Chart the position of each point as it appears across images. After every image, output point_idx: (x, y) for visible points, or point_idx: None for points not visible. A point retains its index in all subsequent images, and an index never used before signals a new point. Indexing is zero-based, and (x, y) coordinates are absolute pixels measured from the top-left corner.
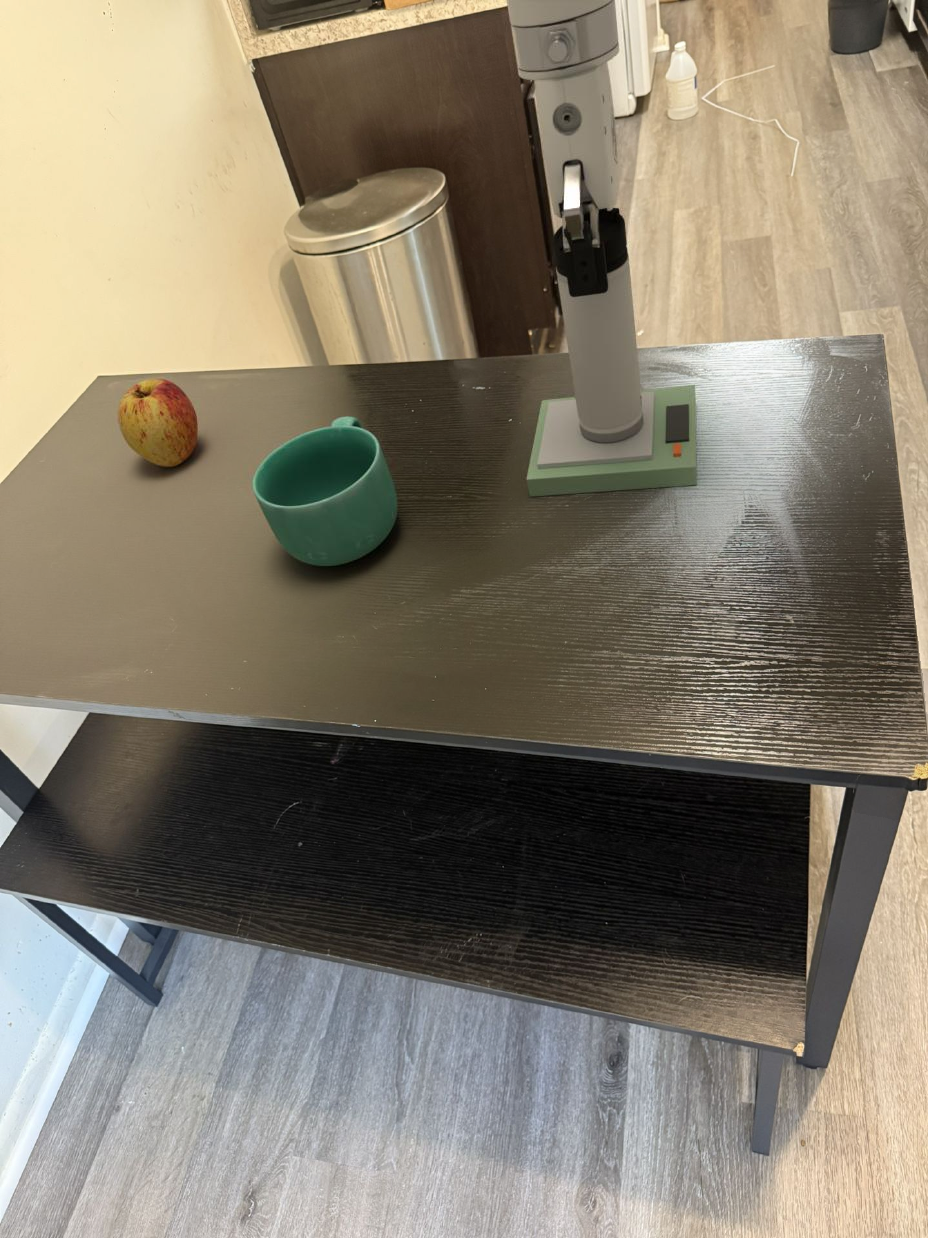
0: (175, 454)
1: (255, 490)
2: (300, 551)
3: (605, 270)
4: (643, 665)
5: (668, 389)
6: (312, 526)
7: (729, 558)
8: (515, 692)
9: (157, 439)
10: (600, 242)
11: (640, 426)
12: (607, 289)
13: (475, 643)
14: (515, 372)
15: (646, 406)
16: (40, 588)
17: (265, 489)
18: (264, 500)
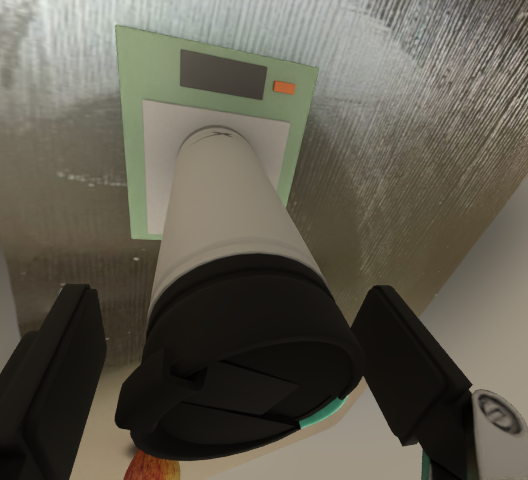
0: None
1: (314, 423)
2: None
3: (420, 321)
4: (488, 152)
5: (126, 73)
6: None
7: (428, 56)
8: (459, 230)
9: (178, 473)
10: (456, 391)
11: (236, 131)
12: (389, 286)
13: (410, 255)
14: (23, 262)
15: (181, 116)
16: (270, 445)
17: None
18: (328, 415)
